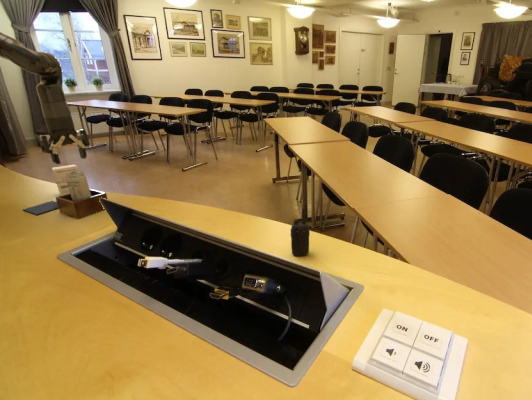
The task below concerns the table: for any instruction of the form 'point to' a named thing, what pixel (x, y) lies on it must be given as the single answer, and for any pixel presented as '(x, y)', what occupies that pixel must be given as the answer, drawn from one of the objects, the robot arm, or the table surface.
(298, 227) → the two-way radio
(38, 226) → the table surface
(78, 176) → the energy drink can
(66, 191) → the ink box
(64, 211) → the brown wooden box
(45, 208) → the coaster
